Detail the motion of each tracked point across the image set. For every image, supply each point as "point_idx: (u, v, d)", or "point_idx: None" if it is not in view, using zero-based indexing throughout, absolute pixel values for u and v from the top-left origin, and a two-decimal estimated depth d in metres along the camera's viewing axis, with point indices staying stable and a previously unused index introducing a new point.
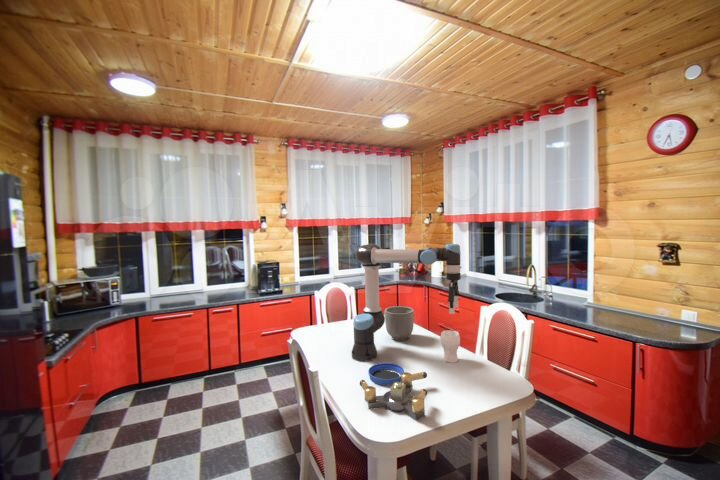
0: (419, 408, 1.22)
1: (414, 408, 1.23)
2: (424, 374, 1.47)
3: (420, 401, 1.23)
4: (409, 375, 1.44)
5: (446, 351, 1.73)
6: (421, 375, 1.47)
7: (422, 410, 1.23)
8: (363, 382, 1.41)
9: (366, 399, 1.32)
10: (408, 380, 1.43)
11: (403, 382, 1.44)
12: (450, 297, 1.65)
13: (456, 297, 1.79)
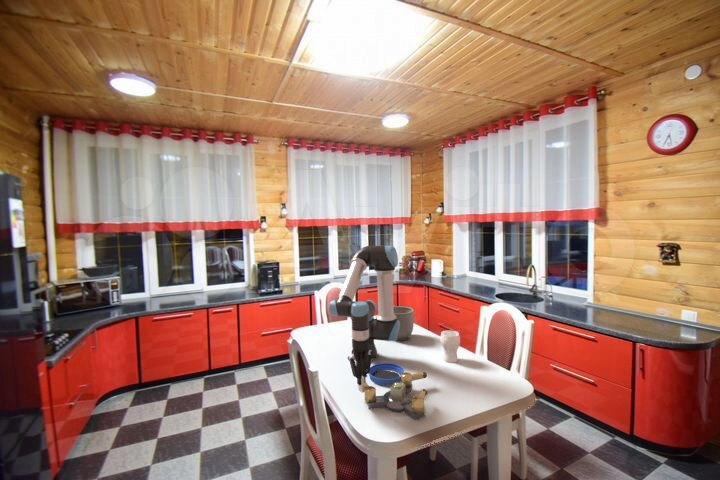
0: (419, 408, 1.22)
1: (414, 408, 1.23)
2: (424, 374, 1.47)
3: (420, 401, 1.23)
4: (409, 375, 1.44)
5: (446, 351, 1.73)
6: (421, 375, 1.47)
7: (422, 410, 1.23)
8: None
9: (366, 399, 1.32)
10: (408, 380, 1.43)
11: (403, 382, 1.44)
12: (353, 372, 1.36)
13: None
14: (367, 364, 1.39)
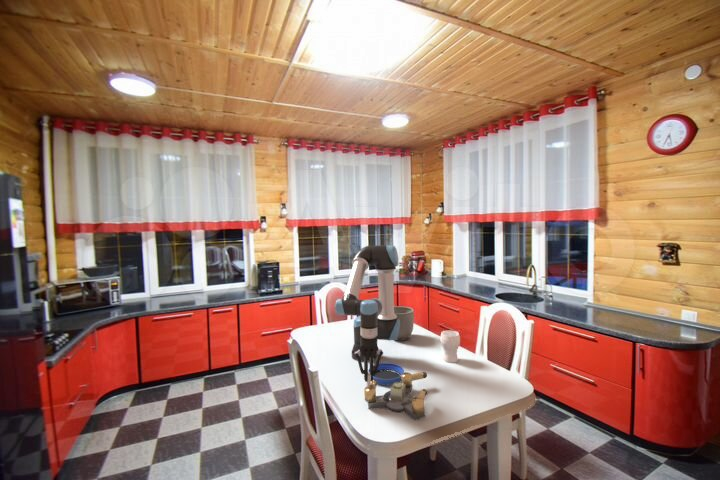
0: (419, 408, 1.22)
1: (414, 408, 1.23)
2: (424, 374, 1.47)
3: (420, 401, 1.23)
4: (409, 375, 1.44)
5: (446, 351, 1.73)
6: (421, 375, 1.47)
7: (422, 410, 1.23)
8: (373, 381, 1.41)
9: None
10: (408, 380, 1.43)
11: (403, 382, 1.44)
12: (360, 368, 1.39)
13: None
14: (376, 363, 1.39)
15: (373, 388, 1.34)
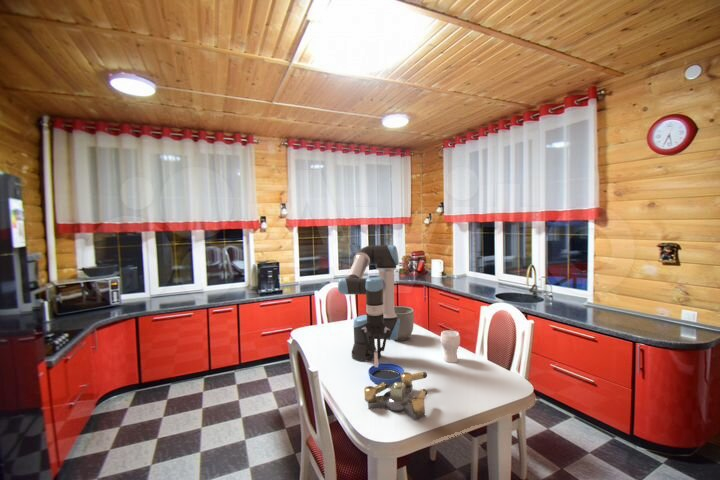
0: (419, 408, 1.22)
1: (414, 408, 1.23)
2: (424, 374, 1.47)
3: (420, 401, 1.23)
4: (409, 375, 1.44)
5: (446, 351, 1.73)
6: (421, 375, 1.47)
7: (422, 410, 1.23)
8: (382, 384, 1.39)
9: None
10: (408, 380, 1.43)
11: (403, 382, 1.44)
12: None
13: None
14: (383, 341, 1.37)
15: (373, 389, 1.33)
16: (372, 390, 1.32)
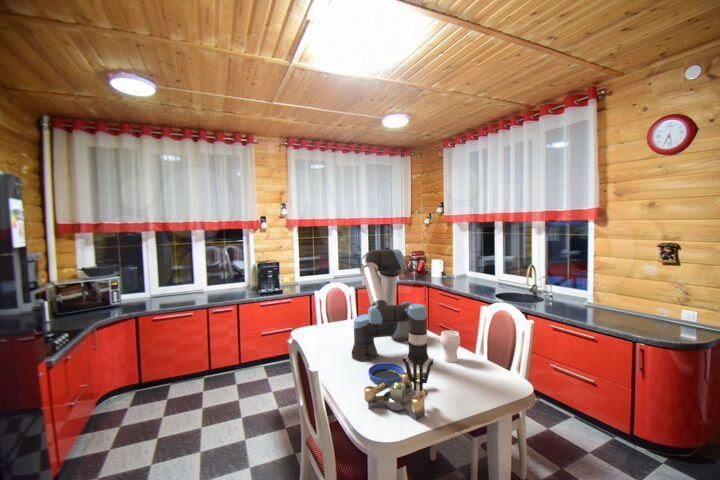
0: (419, 408, 1.22)
1: (414, 408, 1.23)
2: (424, 374, 1.47)
3: (420, 401, 1.23)
4: None
5: (446, 351, 1.73)
6: None
7: (422, 410, 1.23)
8: (382, 384, 1.39)
9: None
10: (408, 380, 1.43)
11: (403, 382, 1.44)
12: None
13: None
14: None
15: (373, 389, 1.33)
16: (372, 390, 1.32)
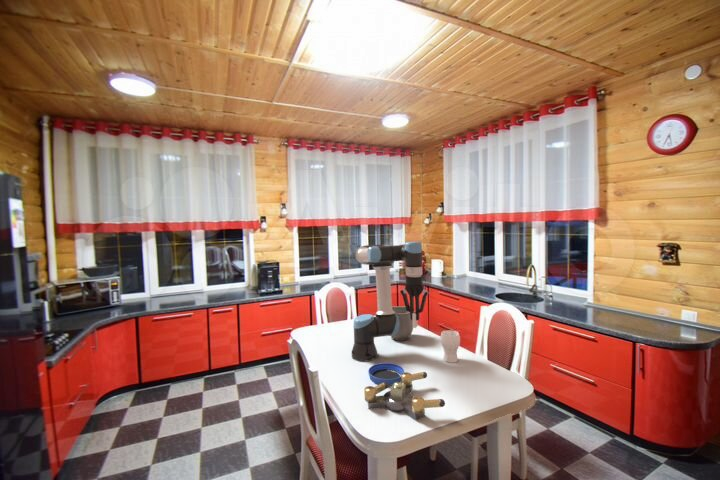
0: (413, 406, 1.23)
1: (412, 405, 1.25)
2: (424, 374, 1.47)
3: (416, 401, 1.23)
4: (409, 375, 1.44)
5: (446, 351, 1.73)
6: (421, 375, 1.47)
7: (416, 410, 1.23)
8: (382, 384, 1.39)
9: None
10: (408, 380, 1.43)
11: (403, 382, 1.44)
12: None
13: None
14: None
15: (373, 389, 1.33)
16: (372, 390, 1.32)
